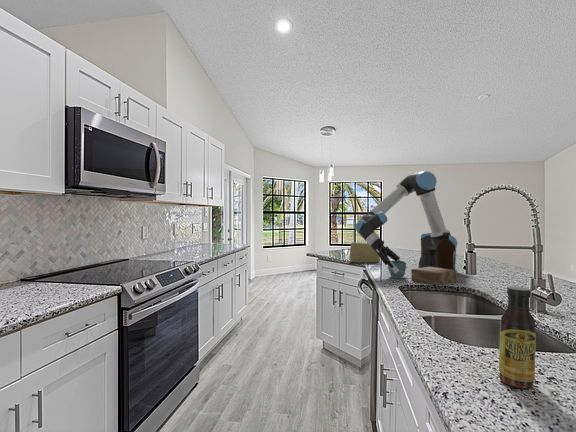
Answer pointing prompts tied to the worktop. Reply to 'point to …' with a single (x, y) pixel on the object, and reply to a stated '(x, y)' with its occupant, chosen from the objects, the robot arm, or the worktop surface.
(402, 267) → the flower pot
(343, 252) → the worktop surface
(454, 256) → the olive oil
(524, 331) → the sauce bottle
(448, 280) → the walnut base
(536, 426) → the worktop surface
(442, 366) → the worktop surface
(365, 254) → the cheese
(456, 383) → the worktop surface
